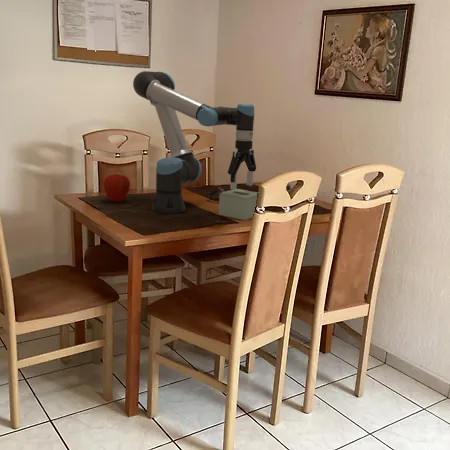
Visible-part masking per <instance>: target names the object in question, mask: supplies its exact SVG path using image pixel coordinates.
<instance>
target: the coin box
mask: <svg viewBox="0 0 450 450" xmlns="http://www.w3.org/2000/svg"><path fill="white" fill-rule="evenodd" d="M257 193H259V192H257V191H252V190H251V191H250V190H246V189H240V188H236V190H233V189H229V190H227V191H226V192H222V193H220V195H219V196H218V197H219V200H218V202H219V203H218V215H219V216H224V217H229V218H234V219H237V220H243V221H247V220H250V219H252V218H254V217H253V214H254V211H255V207H256V199H257Z"/></svg>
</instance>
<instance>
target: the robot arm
mask: <svg viewBox="0 0 450 450" xmlns="http://www.w3.org/2000/svg"><path fill="white" fill-rule="evenodd" d="M132 81H133V82H132V87H133V90H134V91H135V93H136V95H138V96H139V97H141V98H143V99H144V100H145V99H146V100H148V101H149V103H150V105H151V106H153V107H154V108H155V110H156V113H157V116H158V119H159V123H160V125H161V130H162V132H163V135H164V138H165V140H166V145H167V147H168V150H169V154H170V156H169V157H163V158H161V159H159V160H157V162H156V168H155V171H156V172H155V195H154V198H153V202H152V204H151V210H152V211H154V212H156V213H159V214H179V213H182V212H185V210H186V205H185V202H184V197H183V194H182V192H183V191H182V189H183V188H182V185H185V184H191V183H193V182H195V181H197V180H198V179H199V178H200V177H201V174H202V170H203V169H202V164H201V162H200V160H199V159H198V158H196V157H195V156H194V153H193V151H192V150H190V149H188V148H189V147H188V145H187V142H186V139H185V138H186V137H185V136H184V133H183V130H182V126H181V123H180V120H179V118H178V117H179V116H178V114H177V112H178V113H181V114H183V115H184V116H185V115H186V116H187V117H189V118H192V119H194V120H196V121H198V123H199V124H200V125H201V126H204V127H214V126H223V125H227V126H228V125H229V126H235V127H236V129H235V143H234V145H235V146H234V147H235V149H236V151H232V157H231V160H230V164H229V167H228V170H227V174H228V175H230V189H229V190H236V189H237V185H238V175H237V174H238V171H239V169H240V167H241V164H243V162H244V163H245V166H246V167H247V171H246V186H250V187H252V186H253V178H254V177H253V176H254V172H256V169H257V164H256V159H255V155H254V152H255V151H254V149H253V143H254V142H253V139H254V138H253V137H254V122H255V121H254V120H255V105H253V104H251V103H250V104H249V103H238V104H237V106H236V107H229V106H227V107H226V106H214V107H212V106H210V105H208V104H205V103H203V102H201V101H199V100H196V99H195V98H192V97H190V96H188V95H186V94H183V93H181V92H178V91H177V90H175V89H176V83H175V81H174V79H173V77H172V76H171V75H170V74H169V73H166V72H163V71H147V70H143V71H141V72H138V73H137V74H136V75H135V77H134V78H133V80H132Z"/></svg>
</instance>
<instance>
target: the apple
mask: <svg viewBox="0 0 450 450" xmlns="http://www.w3.org/2000/svg"><path fill="white" fill-rule="evenodd" d="M130 186H131V182H130V180H129V178H128V177H127V176H125V175H123V174H122V175H121V174H118V173H117V172H115V174H110V175H109V174H108V175H107V176H106V177H105V178H104V180H103V189H104V192H105V194H106V197H107V199H109V200H110V201H111V202H114V203H122V202H123V201H124V200H125V199H126V197H127V195H128V194H129V191H130Z"/></svg>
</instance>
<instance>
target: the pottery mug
mask: <svg viewBox="0 0 450 450" xmlns="http://www.w3.org/2000/svg"><path fill="white" fill-rule="evenodd" d="M226 191H228V189H227V188H226V187H221V186H217V187H214V188H213V189H211V190H210V191H208V193H207V195H208V199H209V200H212V199H213V198H215V195H217V196H220V193H222V192H226Z"/></svg>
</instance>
